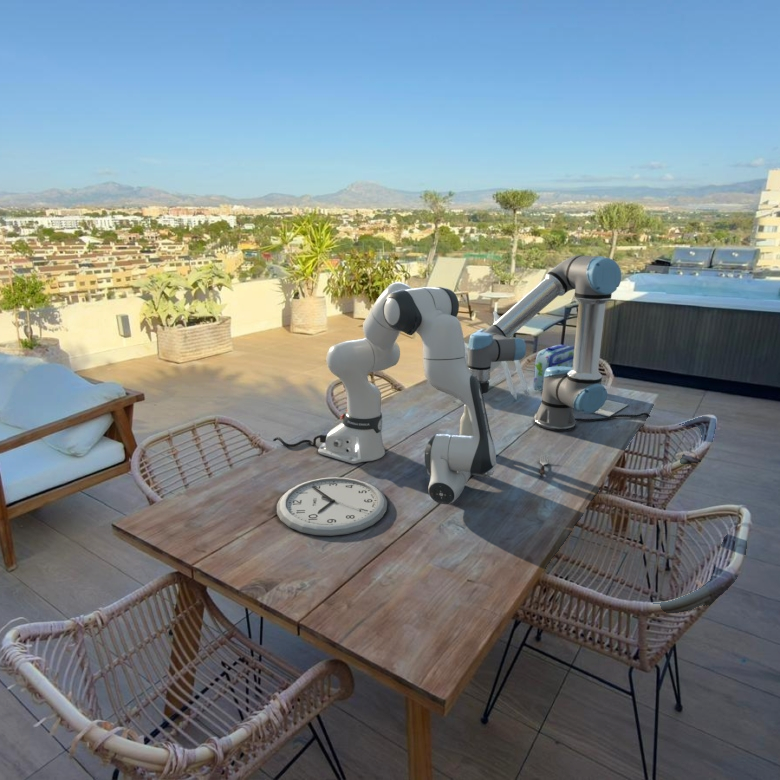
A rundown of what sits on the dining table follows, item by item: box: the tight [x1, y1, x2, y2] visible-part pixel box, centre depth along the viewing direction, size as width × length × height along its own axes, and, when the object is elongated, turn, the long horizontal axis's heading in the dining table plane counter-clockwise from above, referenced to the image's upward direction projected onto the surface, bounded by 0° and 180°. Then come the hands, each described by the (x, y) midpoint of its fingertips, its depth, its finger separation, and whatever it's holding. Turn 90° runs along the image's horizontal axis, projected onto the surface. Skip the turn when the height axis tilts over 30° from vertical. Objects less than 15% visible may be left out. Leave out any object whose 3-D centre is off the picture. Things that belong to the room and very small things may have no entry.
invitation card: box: [593, 399, 629, 417], centre depth 226 cm, size 21×1×15 cm
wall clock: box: [276, 476, 388, 537], centre depth 142 cm, size 30×2×30 cm
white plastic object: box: [464, 310, 531, 400], centre depth 245 cm, size 37×45×31 cm
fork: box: [539, 453, 550, 478], centre depth 166 cm, size 3×16×2 cm, turn 160°
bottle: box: [458, 404, 473, 436], centre depth 161 cm, size 5×5×22 cm
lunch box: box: [533, 344, 575, 392], centre depth 247 cm, size 26×11×21 cm, turn 134°
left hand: (466, 451), depth 163 cm, fingers closed on bottle, 5 cm apart
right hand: (473, 444), depth 180 cm, fingers closed on cap, 4 cm apart
